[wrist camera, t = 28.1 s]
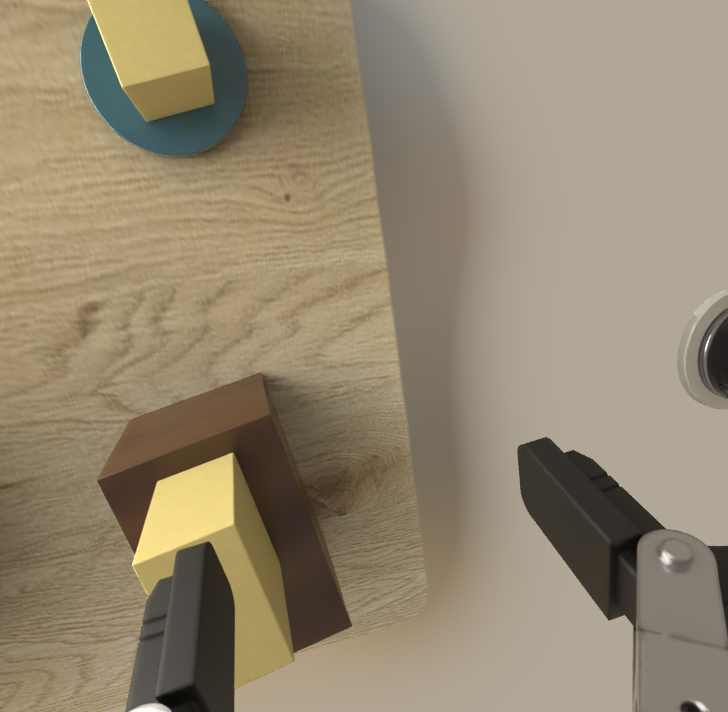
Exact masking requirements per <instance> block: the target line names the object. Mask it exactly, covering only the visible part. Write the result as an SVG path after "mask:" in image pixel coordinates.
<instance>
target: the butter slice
mask: <svg viewBox="0 0 728 712" xmlns="http://www.w3.org/2000/svg"><path fill="white" fill-rule="evenodd" d="M87 1H88V3H89V6H90V8H91V11H92V13H93V16H94V18H95V21H96V23H97V26H98V28H99V31H100V34H101V36H102V39H103V41H104V44H105V46H106V49H107V51H108V54H109V56H110V59H111V61H112V64H113V66H114V69H115V71H116V74H117V76H118V79H119V82H120V84H121V87H122V88H123V89H124V91H125V92H126V94H127V95H128V96H129V98H130V99H131V101H132V102H133V103H134V105H135V106H136V108H137V109H138V110H139V112H140V113H141V115H142V116H143V117H144V119H145V120H146V121H147V122H149V121H153V120H157V119H160V118H164V117H168V116H171V115H175V114H179V113H182V112H186V111H190V110H194V109H197V108H201V107H205V106H208V105H212V104H214V103H215V102H214V94H213V85H212V77H211V68H210V63H209V60H208V57H207V54H206V51H205V48H204V45H203V42H202V40H201V37H200V34H199V31H198V28H197V25H196V22H195V19H194V17H193V14H192V11H191V8H190V5H189V2H188V0H87Z"/></svg>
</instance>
